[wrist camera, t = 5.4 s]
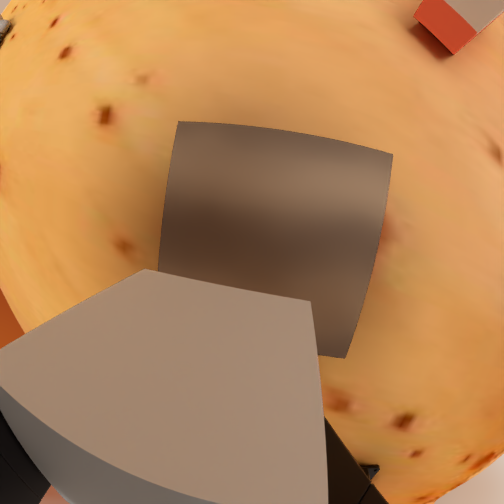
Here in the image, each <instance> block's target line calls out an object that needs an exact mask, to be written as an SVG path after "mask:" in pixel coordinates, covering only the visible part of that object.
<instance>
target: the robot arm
mask: <svg viewBox="0 0 504 504" xmlns="http://www.w3.org/2000/svg"><path fill="white" fill-rule="evenodd" d="M324 425H325V440H326V456H327V477H328V504H389V503H388V502H387V501H386V500H385V499H384V497H383V496H382V495H381V494H380V492H379V491H378V490H377V488H376V487H375V486H374V484H371V481H370V480H371V479H372V478H373V477H374V476H375V474H376V473H377V472H378V471H379V470H380V468H379V466H359V464H358V463H357V462H356V460H355V459H354V457H353V456H352V455H351V453H350V452H349V450H348V449H347V448H346V446H345V445H344V443H343V442H342V441H341V439H340V438H339V436H338V435H337V434H336V432H335V431H334V429H333V428H332V426H331V425H330V424H329V422H328V421H327V419H326V418H325V416H324ZM50 486H51V484H50V482H49V481H48V480H47V479H46V478H45V476H44V475H43V474H42V473H41V471H40V470H39V469H38V467H37V466H36V465H35V464H34V462H33V461H32V460H31V458H30V457H29V455H28V454H27V453H26V451H25V450H24V448H23V447H22V445H21V444H20V442H19V441H18V439H17V438H16V436H15V435H14V433H13V431H12V430H11V428H10V426H9V425H8V423H7V421H6V420H5V418H4V416H3V414H2V412H1V411H0V504H39V503H40V501H41V499H42V498H43V496H44V495H45V493H46V492H47V490H48V489H49V487H50Z"/></svg>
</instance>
